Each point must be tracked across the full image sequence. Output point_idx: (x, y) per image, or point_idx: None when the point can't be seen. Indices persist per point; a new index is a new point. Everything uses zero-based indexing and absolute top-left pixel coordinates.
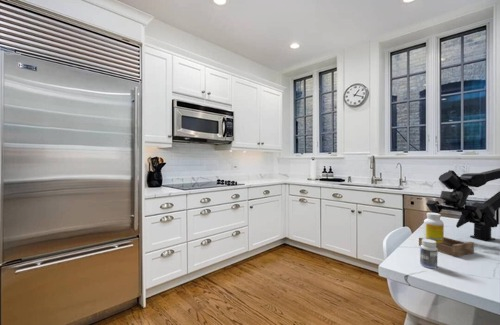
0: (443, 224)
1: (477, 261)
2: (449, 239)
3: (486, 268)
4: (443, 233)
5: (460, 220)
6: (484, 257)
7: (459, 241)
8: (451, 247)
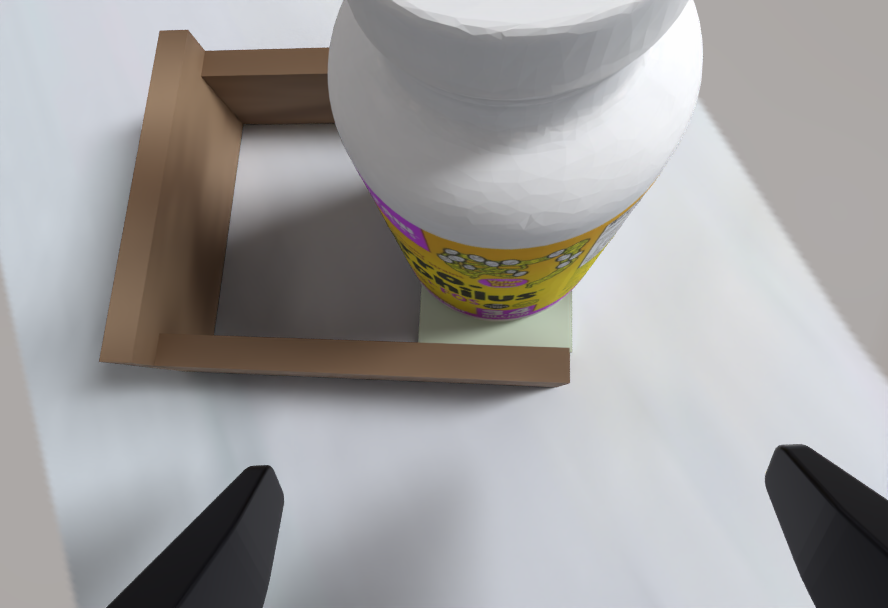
0: (344, 145)
1: (89, 170)
2: (380, 341)
3: (9, 86)
4: (388, 226)
5: (130, 597)
6: (90, 331)
7: (272, 360)
8: (210, 56)
